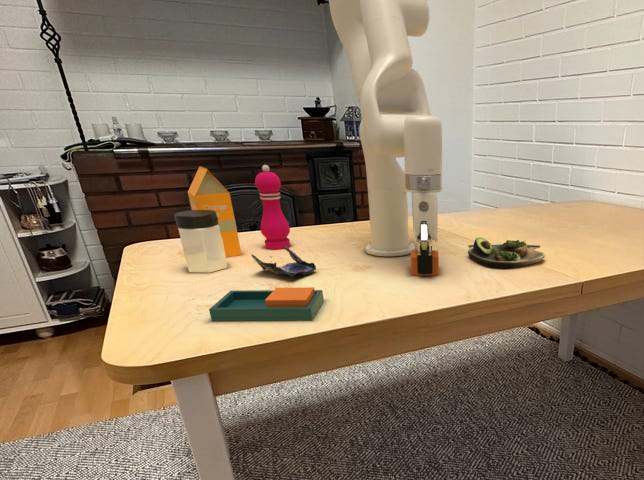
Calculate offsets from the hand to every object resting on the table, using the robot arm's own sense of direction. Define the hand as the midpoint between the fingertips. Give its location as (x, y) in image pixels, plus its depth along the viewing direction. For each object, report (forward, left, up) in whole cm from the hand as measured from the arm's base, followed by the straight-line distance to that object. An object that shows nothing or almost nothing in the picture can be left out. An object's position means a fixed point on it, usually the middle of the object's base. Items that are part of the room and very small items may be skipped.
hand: (425, 267), depth 104 cm
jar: (-4, -49, -1) cm, 49 cm away
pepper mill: (-24, -39, -1) cm, 46 cm away
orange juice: (-17, -51, -1) cm, 54 cm away
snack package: (+1, -30, -1) cm, 30 cm away
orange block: (0, 0, -1) cm, 1 cm away
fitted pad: (+23, -23, -1) cm, 33 cm away
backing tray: (+23, -27, -1) cm, 36 cm away
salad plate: (-11, +19, -1) cm, 22 cm away
